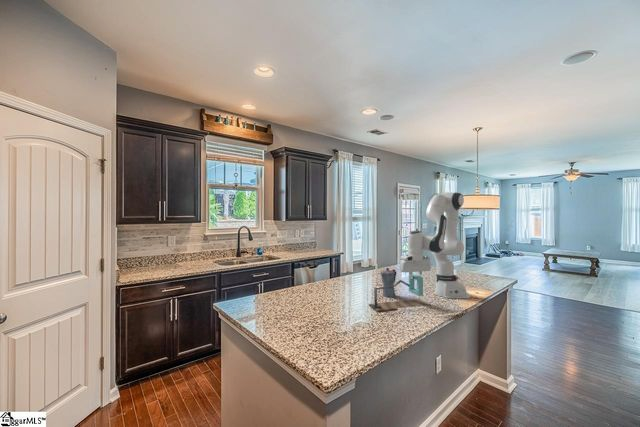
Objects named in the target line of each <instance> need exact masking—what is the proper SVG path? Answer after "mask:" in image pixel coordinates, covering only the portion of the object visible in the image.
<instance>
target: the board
mask: <svg viewBox="0 0 640 427" xmlns="http://www.w3.org/2000/svg"><path fill="white" fill-rule="evenodd" d="M370 304H371V303H368V306H369V307H370V308H371V309H372V310H374V311H375V312H376V313H379V312H390V311H391V312H392V311H399V309H403V308H417V307H425V306H426V307H427V306H431V304H430V303H428V302H426V301H424V300H422V299H420V298H419V299H418V298H417V299H407V300H397V301H395V300H394V301H386V302H377V304H379V305H380V306H381V308H372V307H371V306H370ZM372 304H374V302H373V303H372Z"/></svg>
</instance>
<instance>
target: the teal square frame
mask: <svg viewBox="0 0 640 427" xmlns="http://www.w3.org/2000/svg"><path fill="white" fill-rule="evenodd" d="M412 275H413V276H414V279H411V276H410V274H409V273H408V284H409V285H410V287H409V286H408V292H409V293H411V294H414V295H416V296H418V297H422V296H424V277H422V276H421V277H420V276H417V275H418V274H417V275H416V274H414V273H413V274H412ZM415 281H416V288H415Z"/></svg>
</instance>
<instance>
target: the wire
mask: <svg viewBox="0 0 640 427" xmlns="http://www.w3.org/2000/svg"><path fill="white" fill-rule="evenodd" d="M399 284H404V285H406V286H407V287H408V288H409V287H410V285H409V283H407V282H405V281H403V280H402V279H400V280H398V281H397V282H395V283H394V285H393V286H389V287H383V286H379V287H378V286H375V287H374V288H373V293H374V294H373V296H374V297H373V298H374V299H373V300H374V302H373V303H374V304H373V303H369V304H370V306H371V307H372V308H381V306H380V305H379V304H377V303H378V290H383V289H389V288H393V287H394V288H395V287H396V286H398V285H399ZM370 306H369V307H370ZM371 307H370V308H371ZM372 308H371V309H372Z"/></svg>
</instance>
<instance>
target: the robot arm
mask: <svg viewBox="0 0 640 427" xmlns="http://www.w3.org/2000/svg"><path fill="white" fill-rule="evenodd" d="M464 201H465V200H464V196H463V194H462V193H460V192H455V191H454V192H442V193H435V194H432V196H431V197H430V200H429V203H428V204H427V207H426V210H425V216H426V218H427V219H428V220H429V221H431V222H433V223H435V224H436V225H437V226H436V231H435V234H434V235H425V234H423V233H422V231H421V230H411V231H410V232H409V233H408V236H407V237H408V238H407V247H408V250H407V253H406V254H403V255H401V256H400V259H401V260H400V262H399V271H400V272H402V273H408V275H409V274H410V276H411V279H414V276H413V275H412V274H414V273H418V274H417V276H420V277H422V274H423V272H431V270H432V267H431V266H432V264H431V258H430V257H429V256H427V255H426V256H424V251H425V252H430V253H431V254H432V256H433V258H434V260H435V264H436V274H435V282H436V283H435V284H436V286H435V289H434V290H435V291H434V294H435V295H436V296H439V297H442V298H445V299H470V298H471V294H470V293H468V292H467V288H466V286H465V285H464V284H462V283H461V282H460V281H459V276H457V275H455V266H454V263H453V261H451V259H449V257H448V256H451V257H452V256H461V255H462V254H463V253H464V251H465V245H464V244H463V242H462V241H461V240H460V239H459V236H458V232H457V231H458V224H459V215H460V214H459V210H460V208H462V206H463V204H464ZM414 280H415V279H414Z"/></svg>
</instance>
